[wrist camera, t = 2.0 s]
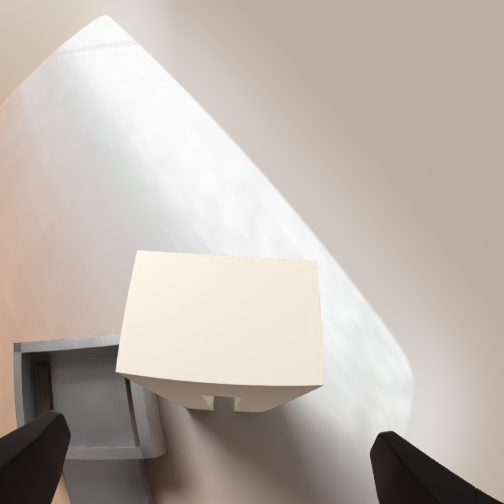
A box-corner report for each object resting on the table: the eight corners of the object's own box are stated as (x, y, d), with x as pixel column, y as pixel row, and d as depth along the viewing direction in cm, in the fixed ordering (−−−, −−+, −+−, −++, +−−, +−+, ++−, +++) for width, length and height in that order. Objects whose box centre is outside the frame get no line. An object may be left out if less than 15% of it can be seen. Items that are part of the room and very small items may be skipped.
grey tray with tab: (202, 573, 11) (198, 596, 8) (82, 568, 9) (60, 584, 6) (148, 336, 19) (134, 318, 16) (40, 347, 17) (14, 331, 14)
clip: (262, 412, 17) (324, 384, 6) (185, 408, 17) (115, 371, 6) (262, 364, 18) (317, 261, 8) (189, 359, 18) (137, 250, 8)
